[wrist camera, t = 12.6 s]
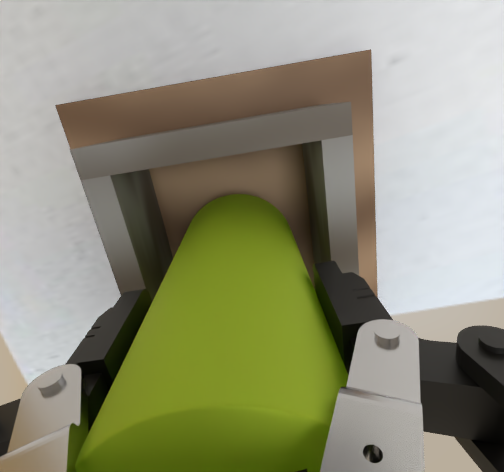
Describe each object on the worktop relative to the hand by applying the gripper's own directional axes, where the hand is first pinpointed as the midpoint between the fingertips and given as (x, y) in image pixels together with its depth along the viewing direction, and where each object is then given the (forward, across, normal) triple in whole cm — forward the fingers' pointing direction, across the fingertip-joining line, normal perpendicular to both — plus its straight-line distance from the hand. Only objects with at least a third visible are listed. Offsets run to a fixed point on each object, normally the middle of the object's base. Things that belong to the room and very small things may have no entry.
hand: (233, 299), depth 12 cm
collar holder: (+9, 0, 0) cm, 9 cm away
